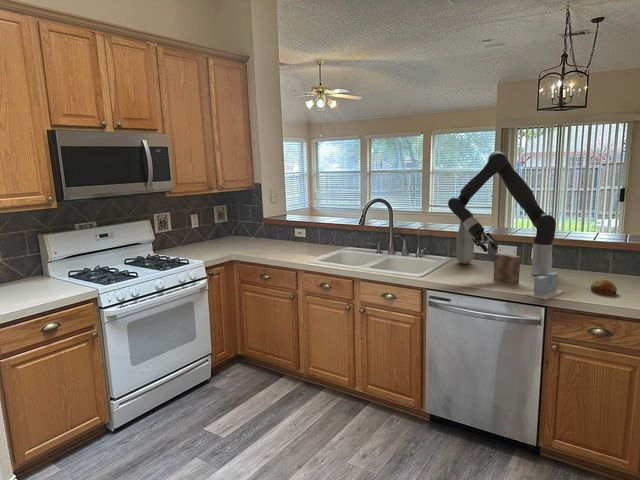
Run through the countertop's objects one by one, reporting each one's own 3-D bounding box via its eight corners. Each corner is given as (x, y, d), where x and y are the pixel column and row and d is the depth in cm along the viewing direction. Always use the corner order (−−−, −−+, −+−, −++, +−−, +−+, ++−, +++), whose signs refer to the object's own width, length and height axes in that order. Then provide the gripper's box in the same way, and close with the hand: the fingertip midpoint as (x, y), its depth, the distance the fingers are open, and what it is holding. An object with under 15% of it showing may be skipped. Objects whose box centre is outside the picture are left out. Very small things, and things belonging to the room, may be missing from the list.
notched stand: (544, 288, 209) (545, 270, 207) (563, 292, 202) (565, 274, 200) (526, 295, 199) (527, 276, 197) (546, 299, 192) (547, 280, 190)
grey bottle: (455, 261, 269) (457, 217, 264) (473, 262, 266) (475, 217, 261) (455, 264, 260) (457, 219, 255) (473, 265, 256) (475, 219, 251)
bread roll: (608, 297, 205) (605, 281, 207) (623, 294, 195) (620, 277, 197) (588, 298, 204) (585, 281, 206) (602, 295, 194) (599, 278, 196)
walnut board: (493, 279, 226) (494, 253, 224) (497, 278, 228) (498, 252, 226) (515, 284, 217) (516, 257, 214) (518, 283, 219) (520, 256, 216)
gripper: (470, 223, 227) (488, 247, 220) (485, 221, 236) (503, 244, 228) (461, 232, 232) (479, 256, 225) (476, 229, 241) (494, 252, 234)
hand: (491, 250), depth 227 cm, fingers open, 8 cm apart
